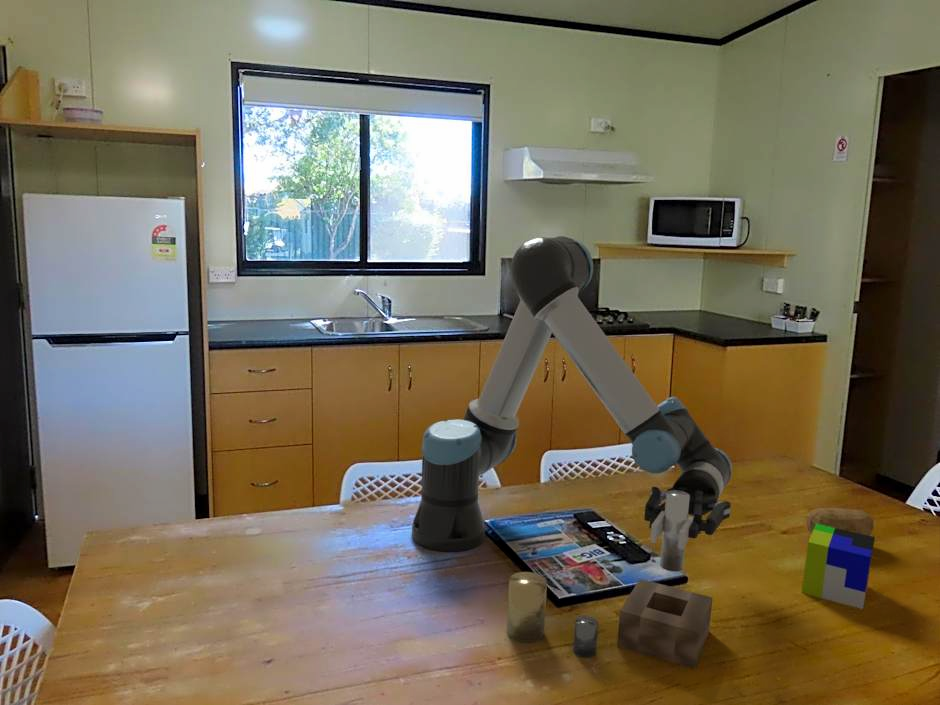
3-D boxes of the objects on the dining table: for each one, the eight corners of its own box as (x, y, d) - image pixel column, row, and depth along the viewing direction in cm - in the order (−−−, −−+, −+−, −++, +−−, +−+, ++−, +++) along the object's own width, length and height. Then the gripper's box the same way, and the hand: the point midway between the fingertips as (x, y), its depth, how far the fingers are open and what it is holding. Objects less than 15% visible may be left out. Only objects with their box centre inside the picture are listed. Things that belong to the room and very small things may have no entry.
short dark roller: (569, 653, 114) (572, 623, 114) (577, 642, 118) (579, 613, 117) (591, 660, 113) (594, 630, 112) (598, 648, 116) (601, 619, 115)
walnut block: (617, 645, 117) (619, 610, 116) (637, 611, 127) (639, 578, 126) (694, 669, 112) (698, 632, 110) (709, 631, 122) (712, 597, 121)
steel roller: (657, 567, 117) (664, 495, 115) (662, 559, 120) (669, 488, 118) (680, 573, 115) (687, 500, 113) (684, 564, 118) (691, 493, 116)
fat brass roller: (500, 636, 118) (503, 584, 117) (515, 618, 124) (518, 568, 122) (535, 647, 116) (538, 594, 114) (549, 629, 121) (552, 577, 119)
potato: (883, 554, 153) (889, 518, 152) (820, 556, 151) (825, 519, 150) (854, 534, 163) (859, 499, 161) (794, 535, 161) (798, 500, 159)
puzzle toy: (862, 609, 131) (870, 557, 129) (801, 592, 136) (808, 541, 134) (867, 586, 139) (874, 537, 138) (809, 571, 145) (816, 523, 143)
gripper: (744, 519, 129) (721, 574, 108) (649, 499, 136) (611, 547, 116) (749, 478, 127) (727, 526, 107) (653, 460, 135) (615, 502, 114)
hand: (667, 537), depth 111 cm, fingers closed on steel roller, 3 cm apart
